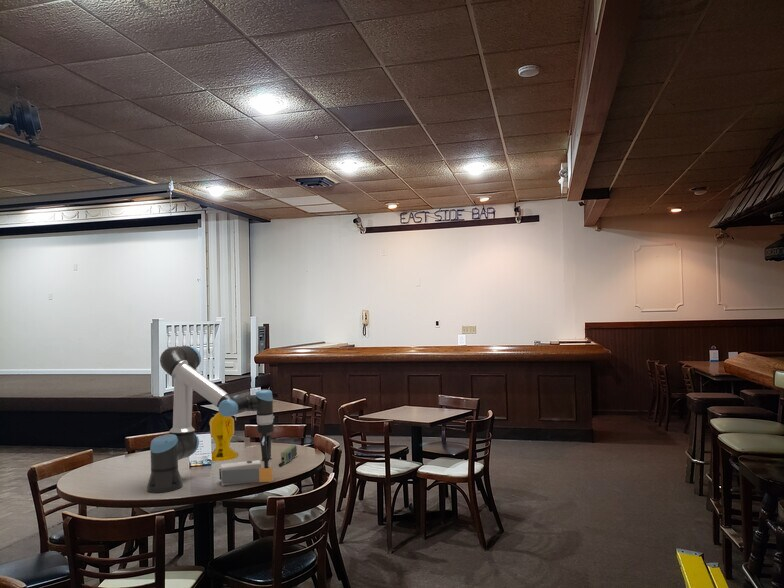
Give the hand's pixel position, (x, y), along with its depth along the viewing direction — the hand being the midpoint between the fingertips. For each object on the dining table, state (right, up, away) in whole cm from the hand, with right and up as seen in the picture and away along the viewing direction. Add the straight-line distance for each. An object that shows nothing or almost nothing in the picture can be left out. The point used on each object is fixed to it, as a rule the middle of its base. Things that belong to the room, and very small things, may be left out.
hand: (267, 474), depth 268 cm
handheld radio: (+2, -6, +41) cm, 42 cm away
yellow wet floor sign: (-38, -9, +57) cm, 69 cm away
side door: (-8, -3, -3) cm, 9 cm away
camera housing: (-13, -4, +4) cm, 14 cm away
